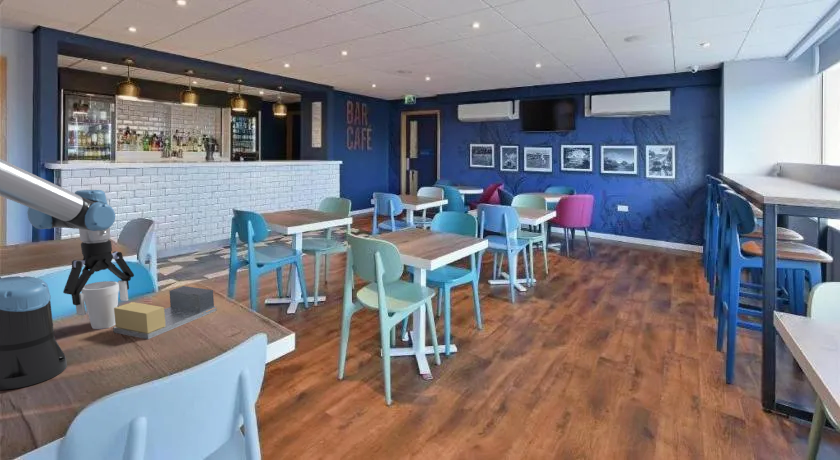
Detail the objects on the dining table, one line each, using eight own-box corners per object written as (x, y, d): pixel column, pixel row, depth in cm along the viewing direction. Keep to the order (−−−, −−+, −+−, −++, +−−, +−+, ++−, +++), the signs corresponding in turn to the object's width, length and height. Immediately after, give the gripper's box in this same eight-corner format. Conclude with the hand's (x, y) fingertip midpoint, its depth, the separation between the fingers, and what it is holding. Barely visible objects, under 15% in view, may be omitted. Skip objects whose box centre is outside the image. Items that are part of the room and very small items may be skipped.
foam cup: (108, 331, 135) (103, 290, 132) (77, 330, 135) (73, 289, 133) (128, 320, 144) (125, 281, 142) (100, 319, 144) (96, 280, 142)
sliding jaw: (147, 333, 130) (146, 313, 129) (115, 326, 134) (113, 308, 133) (165, 326, 135) (164, 307, 134) (134, 320, 140) (132, 302, 139)
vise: (148, 339, 129) (146, 314, 128) (113, 332, 134) (111, 308, 133) (216, 310, 154) (215, 289, 153) (185, 305, 159) (183, 285, 158)
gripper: (60, 250, 122) (69, 322, 126) (142, 234, 145) (148, 296, 149) (41, 247, 125) (51, 319, 128) (125, 232, 148) (132, 293, 152)
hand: (103, 307), depth 139 cm, fingers open, 13 cm apart
